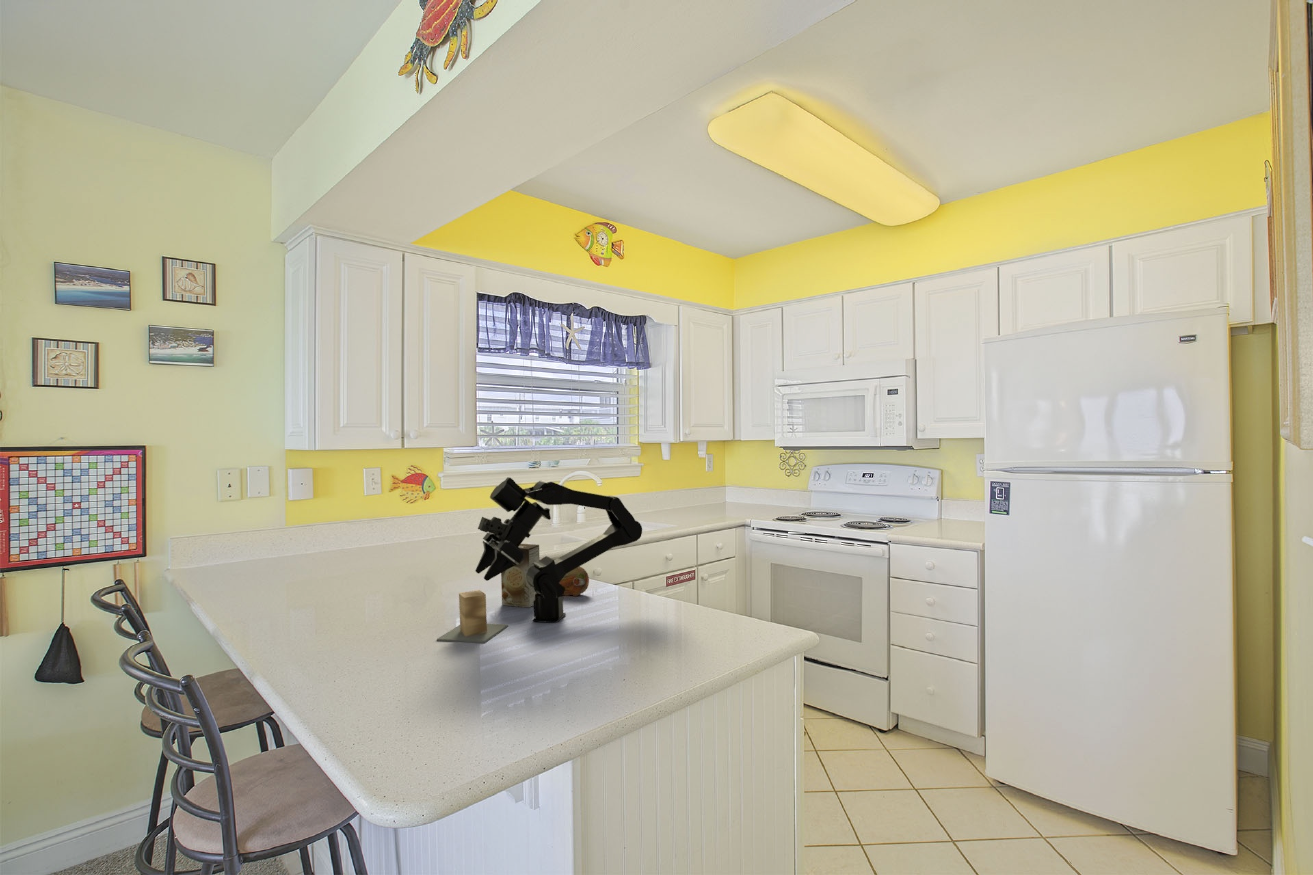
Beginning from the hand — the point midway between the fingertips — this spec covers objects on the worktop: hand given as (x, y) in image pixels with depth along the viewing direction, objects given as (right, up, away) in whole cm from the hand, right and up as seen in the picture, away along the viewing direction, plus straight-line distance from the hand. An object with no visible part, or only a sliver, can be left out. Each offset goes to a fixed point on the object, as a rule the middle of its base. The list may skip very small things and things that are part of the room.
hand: (480, 575), depth 153 cm
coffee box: (+5, -13, +23) cm, 26 cm away
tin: (+16, -12, +31) cm, 37 cm away
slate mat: (-1, -13, -1) cm, 13 cm away
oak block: (-1, -13, -1) cm, 13 cm away
